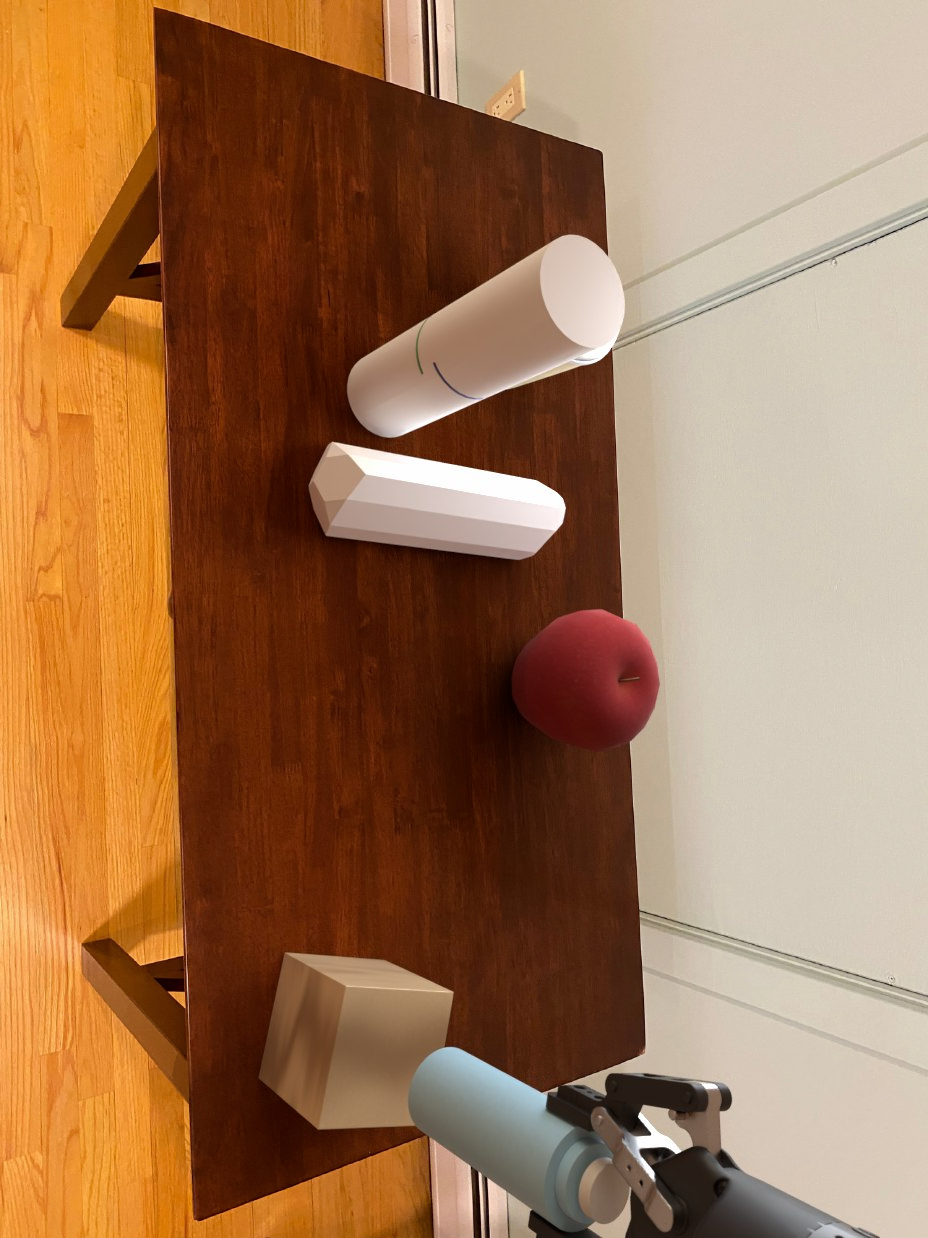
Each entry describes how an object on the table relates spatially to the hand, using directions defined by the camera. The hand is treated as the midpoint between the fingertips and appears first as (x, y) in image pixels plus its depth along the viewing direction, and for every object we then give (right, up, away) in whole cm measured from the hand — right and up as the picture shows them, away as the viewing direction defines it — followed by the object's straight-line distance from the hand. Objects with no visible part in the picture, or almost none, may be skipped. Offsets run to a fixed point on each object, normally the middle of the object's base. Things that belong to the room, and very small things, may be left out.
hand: (550, 1157), depth 50 cm
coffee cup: (-2, +54, +36) cm, 65 cm away
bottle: (-6, -1, +9) cm, 10 cm away
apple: (+2, +23, +36) cm, 43 cm away
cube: (-15, -2, +22) cm, 27 cm away
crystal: (-8, +39, +31) cm, 50 cm away
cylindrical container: (-12, +48, +29) cm, 57 cm away
